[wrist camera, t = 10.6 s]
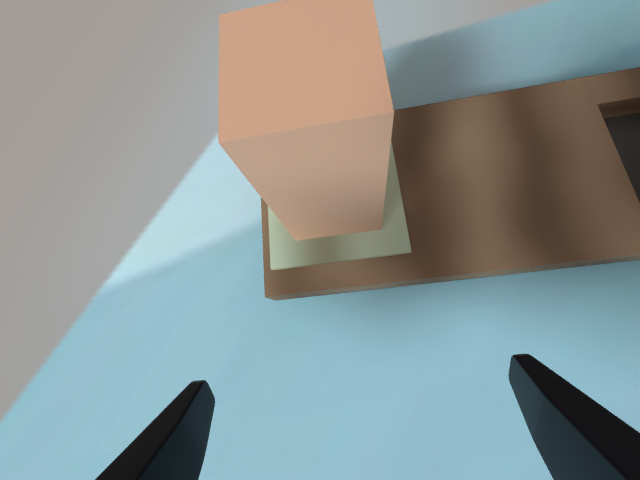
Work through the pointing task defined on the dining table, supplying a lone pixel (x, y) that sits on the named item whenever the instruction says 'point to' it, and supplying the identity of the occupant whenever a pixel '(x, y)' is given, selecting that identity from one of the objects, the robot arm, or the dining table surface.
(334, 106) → the block
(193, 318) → the dining table surface
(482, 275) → the board
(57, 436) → the dining table surface
